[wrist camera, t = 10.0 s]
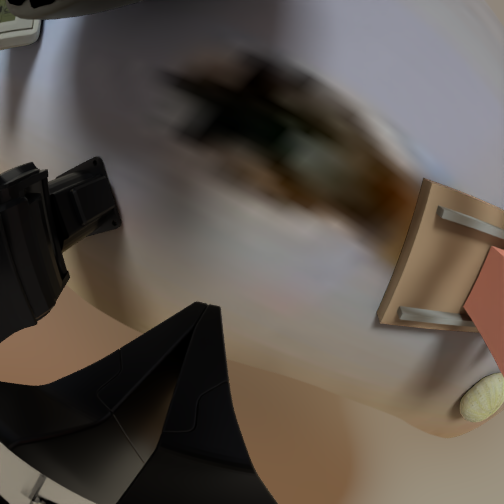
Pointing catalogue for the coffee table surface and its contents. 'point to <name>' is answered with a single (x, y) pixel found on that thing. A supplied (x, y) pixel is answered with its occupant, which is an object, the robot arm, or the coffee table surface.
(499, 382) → the sea urchin shell
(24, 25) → the digital clock
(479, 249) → the base
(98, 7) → the bowl of black rocks
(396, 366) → the coffee table surface
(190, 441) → the robot arm
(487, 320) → the salmon pink rectangular block
